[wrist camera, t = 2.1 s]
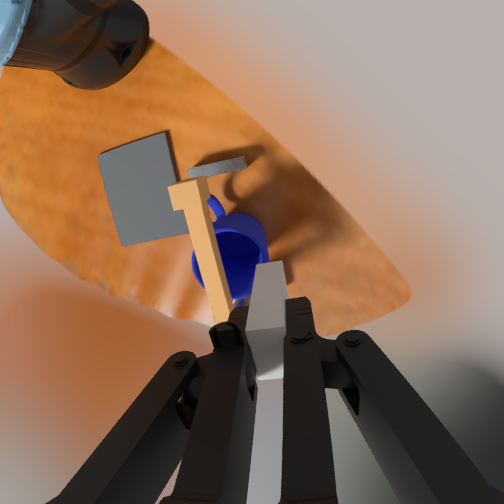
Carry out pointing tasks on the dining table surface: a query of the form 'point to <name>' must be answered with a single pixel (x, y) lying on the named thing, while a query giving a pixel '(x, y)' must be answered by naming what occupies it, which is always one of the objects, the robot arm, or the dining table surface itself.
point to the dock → (216, 169)
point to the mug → (237, 249)
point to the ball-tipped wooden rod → (203, 241)
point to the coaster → (142, 190)
